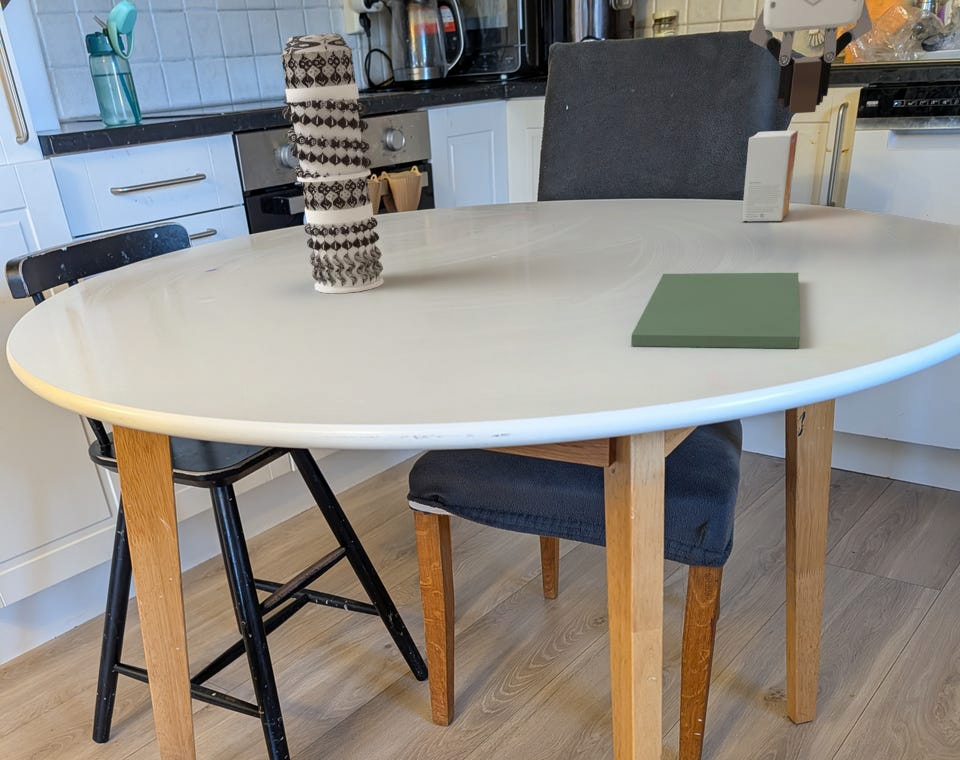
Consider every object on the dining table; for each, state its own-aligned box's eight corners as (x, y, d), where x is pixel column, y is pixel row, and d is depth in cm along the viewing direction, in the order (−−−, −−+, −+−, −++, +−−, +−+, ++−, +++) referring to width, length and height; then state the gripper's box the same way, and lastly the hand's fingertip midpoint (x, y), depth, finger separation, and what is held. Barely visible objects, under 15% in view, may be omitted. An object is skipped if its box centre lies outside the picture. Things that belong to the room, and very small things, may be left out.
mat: (798, 348, 73) (800, 336, 72) (631, 346, 77) (631, 334, 76) (797, 282, 92) (798, 272, 91) (662, 283, 96) (663, 273, 95)
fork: (826, 111, 91) (833, 59, 88) (778, 114, 92) (783, 63, 90) (820, 99, 107) (826, 55, 105) (780, 101, 109) (784, 58, 106)
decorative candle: (304, 296, 102) (260, 38, 88) (318, 279, 110) (280, 39, 96) (381, 291, 101) (349, 31, 88) (390, 274, 109) (362, 32, 95)
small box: (781, 222, 121) (791, 135, 115) (740, 222, 123) (748, 136, 117) (789, 212, 127) (799, 129, 121) (749, 212, 129) (757, 131, 123)
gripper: (742, -97, 89) (726, 112, 99) (915, -118, 85) (879, 103, 95) (745, -89, 95) (730, 107, 105) (906, -108, 91) (874, 98, 101)
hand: (801, 103), depth 100 cm, fingers closed on fork, 2 cm apart
